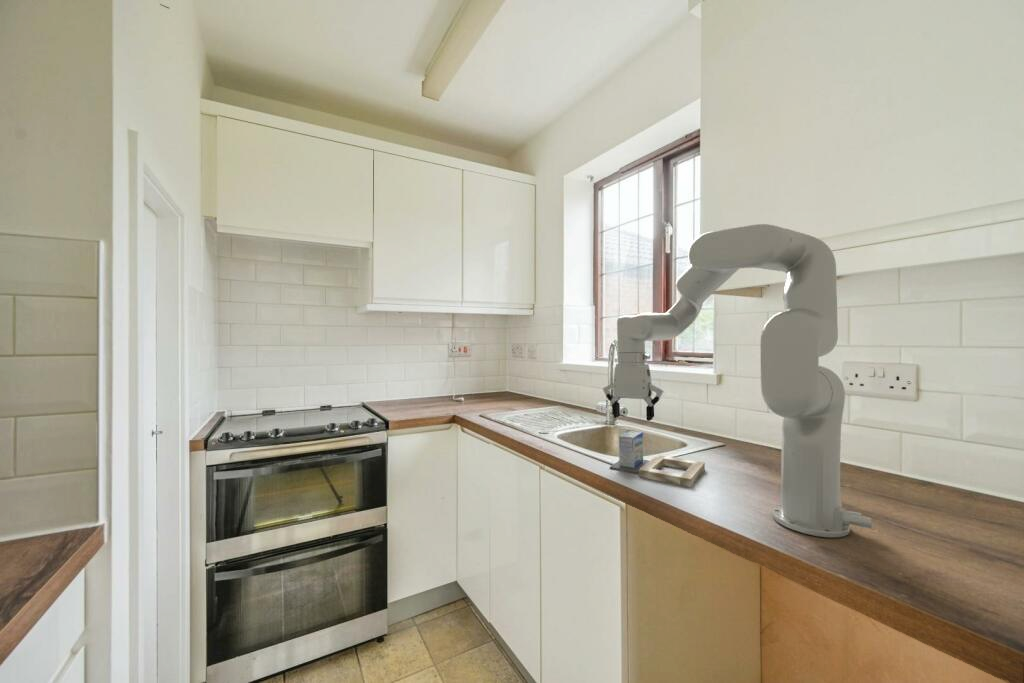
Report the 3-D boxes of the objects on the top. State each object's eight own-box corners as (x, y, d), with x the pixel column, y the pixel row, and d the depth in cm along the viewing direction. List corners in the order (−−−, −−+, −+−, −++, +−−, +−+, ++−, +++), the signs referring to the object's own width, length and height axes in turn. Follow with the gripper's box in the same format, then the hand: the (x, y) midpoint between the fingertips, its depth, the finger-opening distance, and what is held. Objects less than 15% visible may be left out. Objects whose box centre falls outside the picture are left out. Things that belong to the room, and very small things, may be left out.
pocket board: (704, 469, 116) (704, 462, 116) (690, 487, 103) (690, 479, 103) (657, 461, 124) (657, 454, 124) (638, 476, 111) (638, 469, 111)
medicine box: (634, 469, 116) (634, 437, 115) (618, 466, 118) (618, 435, 118) (643, 461, 122) (643, 432, 122) (628, 459, 125) (628, 430, 124)
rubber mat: (651, 462, 123) (651, 460, 123) (637, 474, 113) (637, 472, 113) (625, 458, 127) (625, 456, 127) (609, 468, 118) (609, 466, 118)
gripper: (666, 358, 117) (667, 419, 117) (608, 358, 128) (609, 413, 127) (657, 359, 111) (659, 423, 111) (597, 359, 121) (599, 417, 121)
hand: (632, 418), depth 119 cm, fingers open, 9 cm apart
